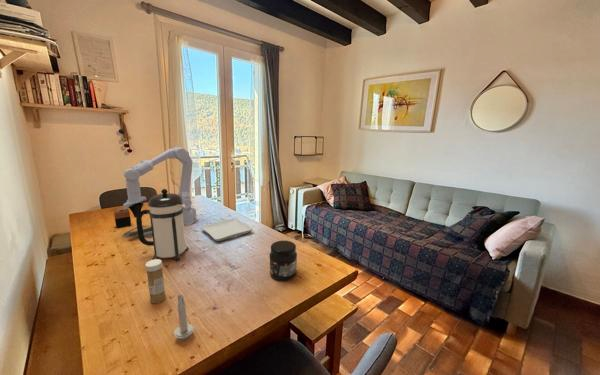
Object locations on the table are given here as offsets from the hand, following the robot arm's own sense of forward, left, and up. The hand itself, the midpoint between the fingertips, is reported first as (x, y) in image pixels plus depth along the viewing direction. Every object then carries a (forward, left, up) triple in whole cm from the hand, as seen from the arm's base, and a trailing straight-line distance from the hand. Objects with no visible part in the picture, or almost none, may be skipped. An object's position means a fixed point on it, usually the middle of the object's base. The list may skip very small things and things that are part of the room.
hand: (137, 217), depth 131 cm
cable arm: (-6, +5, -7) cm, 10 cm away
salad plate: (-46, -4, -9) cm, 47 cm away
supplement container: (-81, +33, -9) cm, 88 cm away
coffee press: (-29, +23, -9) cm, 38 cm away
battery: (+14, -7, -9) cm, 18 cm away
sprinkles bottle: (-42, +51, -9) cm, 67 cm away
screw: (-58, +65, -9) cm, 87 cm away
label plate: (-3, 0, -9) cm, 9 cm away
